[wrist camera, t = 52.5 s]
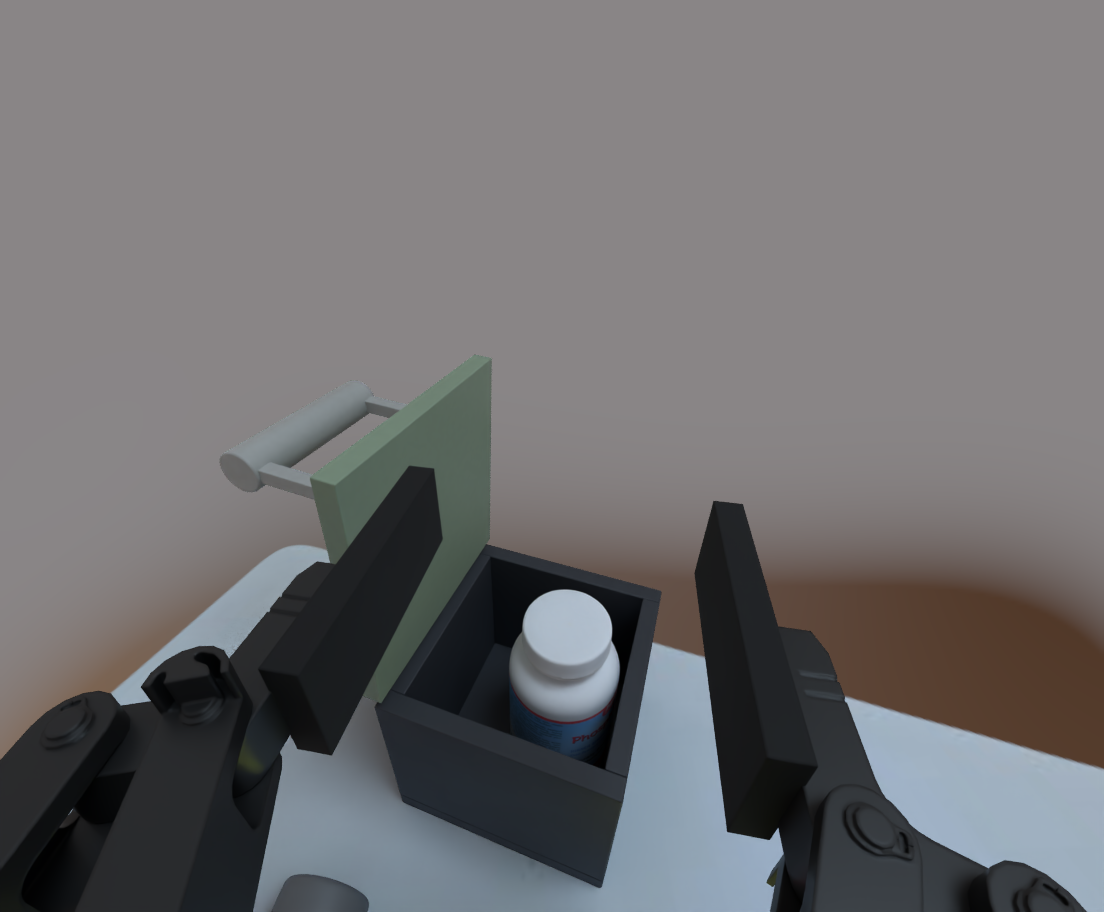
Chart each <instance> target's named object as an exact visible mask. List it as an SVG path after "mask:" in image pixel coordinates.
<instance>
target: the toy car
mask: <svg viewBox="0 0 1104 912" xmlns="http://www.w3.org/2000/svg"><path fill="white" fill-rule="evenodd" d="M368 907H369V902H368V899H367V898H366V897H365V896H364V895H363V894H362V893H361V892H359V891H358V890H356V889H355V888H353V887H351V886H349V885H346V884H344V883H342V882H339V881H336V880H333V879H329V878H326V877H321V876H316V875H308V874H299V875H294V876H291V877H289V878H288V879H287V880H286V882H285V883H284V885H283V887H282V889H281V892H280V894H279V896H278V898H277V900H276V902H275V904H274V907H273V909H272V911H271V912H367V911H368Z"/></svg>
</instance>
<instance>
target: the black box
mask: <svg viewBox="0 0 1104 912" xmlns="http://www.w3.org/2000/svg"><path fill="white" fill-rule="evenodd" d="M555 590H575V591H579V592H583V593H585V594H587V595H589V596H591V597H593V598H594V599H596V600H597V601H598V602H599V603H600V604H601V605H602V606H603V607H604V608H605V610H606V611H607V613H608V615H609V617H610V620H611V624H612V638H611V641H612V643H613V645H614V647H615V649H616V652H617V654H618V659H619V665H620V674H619V683H618V689H617V694H616V700H615V706H614V711H613V717H612V722H611V728H610V733H609V739H608V744H607V749H606V753H605V757H604V759H603V762H602V764H601V766H600V767H599V768H598V767H596V766H593V765H590V764H588V763H585V762H582V761H579V760H577V759H574V758H571V757H569V756H566V755H563V754H561V753H558V752H555V751H553V750H550V749H547V748H545V747H542V746H539V745H536V744H534V743H531V742H528V741H526V740H523V739H520V738H518V737H515V736H512V735H510V695H509V661H510V655H511V651H512V648H513V646H514V643H515V641H516V639H517V638H518V636H519V635H520V634H521V633H522V626H523V619H524V616H525V613H526V611H527V609H528V607H529V606H530V605H531V604H532V603H533V601H534V600H536V599H537V598H538V597H540V596H542V595H543V594H546V593H548V592H551V591H555ZM660 598H661V591H659V590H655V589H651V588H648V587H644V586H640V585H637V584H633V583H629V582H625V581H622V580H618V579H614V578H611V577H607V576H603V575H599V574H596V573H592V572H588V571H584V570H581V569H577V568H573V567H570V566H566V565H562V564H558V563H554V562H551V561H547V560H543V559H540V558H536V557H532V556H528V555H525V554H521V553H517V552H513V551H510V550H506V549H502V548H498V547H495V546H491V545H487V544H486V545H485V546H484V548H483V549H482V551H481V553H480V554H479V556H478V557H477V559H476V560H475V562H474V563H473V565H472V566H471V568H470V569H469V571H468V572H467V574H466V575H465V577H464V578H463V580H462V581H461V583H460V584H459V586H458V587H457V589H456V590H455V592H454V593H453V595H452V596H451V598H450V599H449V601H448V603H447V604H446V606H445V607H444V609H443V610H442V612H441V613H440V615H439V616H438V618H437V619H436V621H435V622H434V624H433V625H432V627H431V628H430V630H429V631H428V633H427V634H426V636H425V637H424V639H423V640H422V642H421V643H420V645H419V646H418V648H417V650H416V651H415V653H414V654H413V656H412V657H411V659H410V660H409V662H408V663H407V665H406V666H405V668H404V669H403V671H402V672H401V674H400V675H399V677H398V678H397V680H396V681H395V683H394V684H393V686H392V687H391V689H390V690H389V692H388V693H387V695H386V696H385V698H384V700H383V701H382V703H379V702H377V704H376V705H375V710H376V713H377V717H378V720H379V723H380V727H381V730H382V733H383V737H384V740H385V743H386V747H387V750H388V753H389V757H390V760H391V764H392V767H393V770H394V774H395V777H396V780H397V784H398V787H399V790H400V794H401V797H402V800H403V802H405V803H407V804H409V805H411V806H414V807H416V808H418V809H421V810H423V811H425V812H427V813H430V814H432V815H434V816H437V817H439V818H441V819H444V820H446V821H448V822H450V823H453V824H455V825H457V826H460V827H462V828H464V829H466V830H469V831H471V832H473V833H476V834H478V835H480V836H482V837H485V838H487V839H489V840H492V841H494V842H496V843H499V844H501V845H503V846H505V847H508V848H510V849H512V850H515V851H517V852H519V853H521V854H524V855H526V856H528V857H531V858H533V859H535V860H537V861H540V862H542V863H544V864H547V865H549V866H551V867H553V868H556V869H558V870H560V871H563V872H565V873H567V874H570V875H572V876H574V877H576V878H579V879H581V880H583V881H586V882H588V883H590V884H592V885H595V886H597V887H599V888H601V887H602V884H603V880H604V876H605V872H606V868H607V864H608V860H609V856H610V852H611V848H612V844H613V840H614V836H615V832H616V828H617V824H618V820H619V816H620V812H621V808H622V804H623V799H624V793H625V788H626V783H627V777H628V772H629V766H630V761H631V755H632V750H633V745H634V739H635V734H636V728H637V723H638V718H639V712H640V707H641V701H642V696H643V690H644V685H645V680H646V674H647V669H648V663H649V658H650V652H651V647H652V642H653V636H654V631H655V625H656V619H657V614H658V609H659V603H660Z"/></svg>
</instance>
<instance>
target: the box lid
mask: <svg viewBox="0 0 1104 912" xmlns="http://www.w3.org/2000/svg"><path fill="white" fill-rule="evenodd" d="M491 360H492V359H491V358H488V357H483V356H479V355H474V356H472V357H471V358H469V359H468V360H467V361H465V362H464V363H463V364H461V365H460V366H459V367H457V368H456V369H455V370H453V371H452V372H451V373H449V374H448V375H447V376H445V377H444V378H443V379H441V380H440V381H439V382H437V383H436V384H435V385H433V386H432V387H430V388H429V389H428V390H426V391H425V392H424V393H422V394H421V395H420V396H418V397H417V398H416V399H414V400H413V401H412V402H410V403H409V404H408V405H407V404H403V403H399V402H394V401H390V400H386V399H382V398H378V397H374V395H373V393H372V391H371V390H370V389H369V387H368V386H366V385H365V384H364V383H362V382H360V381H356V380H352V381H349V382H347V383H345V384H343V385H342V386H340V387H338V388H336V389H335V390H333V391H331V392H329V393H328V394H326V395H324V396H323V397H321V398H319V399H317V400H315V401H314V402H312V403H310V404H308V405H307V406H305V407H303V408H301V409H300V410H298V411H296V412H295V413H293V414H291V415H289V416H287V417H286V418H284V419H282V420H280V421H279V422H277V423H275V424H273V425H272V426H270V427H268V428H266V429H265V430H263V431H262V432H259V433H258V434H256V435H254V436H252V437H251V438H249V439H247V440H245V441H244V442H242V443H240V444H239V445H237V446H235V447H233V448H232V449H230V450H228V451H226V452H225V453H223V454H222V456H221V457H220V466H221V469H222V471H223V473H224V474H225V476H226V477H227V478H228V480H229V481H230V482H231V483H232V484H234V485H235V486H236V487H238V488H240V489H241V490H243V491H247V492H255V491H258V490H259V489H260V488H262V487H263V486H265V485H269V486H272V487H275V488H278V489H282V490H285V491H288V492H291V493H295V494H298V495H301V496H304V497H307V498H310V499H314V500H315V503H316V507H317V511H318V515H319V519H320V523H321V527H322V531H323V535H324V539H325V543H326V547H327V551H328V555H329V559H330V563H331V564H336V563H337V562H338V560H339V559H340V558H341V556H342V555H343V554H344V552H345V551H346V550H347V548H348V547H349V546H350V544H351V543H352V542H353V540H354V539H355V538H356V536H357V535H358V534H359V532H360V531H361V529H362V528H363V527H364V525H365V524H366V523H367V521H368V520H369V519H370V517H371V516H372V515H373V513H374V512H375V511H376V509H377V508H378V507H379V505H380V504H381V503H382V501H383V500H384V499H385V497H386V496H387V495H388V493H389V492H390V491H391V489H392V488H393V486H394V485H395V484H396V482H397V481H398V480H399V478H400V477H401V476H402V474H403V473H404V472H405V470H406V469H407V468H408V466H418V467H426V468H434V471H435V479H436V487H437V495H438V503H439V511H440V520H441V528H442V536H443V540H442V542H441V544H440V546H439V548H438V550H437V552H436V554H435V556H434V558H433V560H432V562H431V564H430V566H429V567H428V569H427V571H426V573H425V575H424V577H423V579H422V581H421V583H420V585H419V587H418V589H417V591H416V593H415V595H414V597H413V599H412V601H411V602H410V604H409V606H408V608H407V610H406V612H405V614H404V616H403V618H402V620H401V622H400V624H399V626H398V628H397V630H396V632H395V634H394V636H393V637H392V639H391V641H390V643H389V645H388V647H387V649H386V651H385V653H384V655H383V657H382V659H381V661H380V663H379V665H378V667H377V669H376V671H375V673H374V674H373V676H372V678H371V680H370V682H369V684H368V686H367V688H366V690H365V692H364V694H363V696H364V697H367V698H369V699H372V700H374V701H377V702H379V703H382V701H383V700H384V698H385V696H386V695H387V693H388V692H389V690H390V689H391V687H392V686H393V684H394V683H395V681H396V680H397V678H398V677H399V675H400V674H401V672H402V671H403V669H404V668H405V666H406V665H407V663H408V662H409V660H410V659H411V657H412V656H413V654H414V653H415V651H416V650H417V648H418V646H419V645H420V643H421V642H422V640H423V639H424V637H425V636H426V634H427V633H428V631H429V630H430V628H431V627H432V625H433V624H434V622H435V621H436V619H437V618H438V616H439V615H440V613H441V612H442V610H443V609H444V607H445V606H446V604H447V603H448V601H449V599H450V598H451V596H452V595H453V593H454V592H455V590H456V589H457V587H458V586H459V584H460V583H461V581H462V580H463V578H464V577H465V575H466V574H467V572H468V571H469V569H470V568H471V566H472V565H473V563H474V562H475V560H476V559H477V557H478V556H479V554H480V553H481V551H482V549H483V548H484V546H485V545H486V543H487V542H488V540H489V539H490V456H491V455H490V454H491V452H490V451H491V449H490V448H491V366H492V365H491V364H492V361H491ZM369 413H372V414H376V415H380V416H384V417H387V418H389V419H387V420H386V421H385V422H383V423H382V424H381V425H379V426H378V427H377V428H375V429H374V430H373V431H371V432H370V433H369V434H367V435H366V436H364V437H363V438H362V439H360V440H359V441H358V442H356V443H355V444H354V445H352V446H351V447H350V448H348V449H347V450H346V451H344V452H343V453H342V454H340V455H339V456H338V457H336V458H335V459H334V460H332V461H331V462H329V463H328V464H327V465H325V466H324V467H323V468H321V469H320V470H319V471H317V472H316V473H315V474H313V475H312V474H308V473H305V472H302V471H298V470H295V469H292V468H291V467H292V466H294V465H295V464H297V463H298V462H299V461H301V460H302V459H304V458H305V457H307V456H308V455H310V454H311V453H312V452H314V451H315V450H317V449H318V448H320V447H321V446H323V445H324V444H326V443H327V442H328V441H330V440H331V439H333V438H334V437H336V436H337V435H339V434H340V433H342V432H343V431H344V430H346V429H347V428H349V427H350V426H351V425H353V424H355V423H356V422H357V421H359V420H360V419H362V418H363V417H365V416H366V415H368V414H369Z"/></svg>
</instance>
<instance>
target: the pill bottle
mask: <svg viewBox="0 0 1104 912" xmlns="http://www.w3.org/2000/svg"><path fill="white" fill-rule="evenodd" d="M611 638H612V624H611V620H610V617H609V615H608V613H607V611H606V610H605V608H604V607H603V606H602V605H601V604H600V603H599V602H598V601H597V600H596V599H594V598H593V597H591V596H589V595H587V594H585V593H583V592H579V591H575V590H555V591H551V592H548V593H546V594H543V595H542V596H540V597H538V598H537V599H536V600H534V601H533V603H532V604H531V605H530V606H529V607H528V609H527V611H526V613H525V616H524V619H523V626H522V633H521V634H520V635H519V636H518V638H517V639H516V641H515V643H514V646H513V648H512V651H511V655H510V661H509V695H510V735H512V736H515V737H518V738H520V739H523V740H526V741H528V742H531V743H534V744H536V745H539V746H542V747H545V748H547V749H550V750H553V751H555V752H558V753H561V754H563V755H566V756H569V757H571V758H574V759H577V760H579V761H582V762H585V763H588V764H590V765H593V766H596V767H598V768H599V767H600V766H601V764H602V762H603V759H604V757H605V753H606V749H607V744H608V739H609V733H610V728H611V722H612V717H613V711H614V706H615V700H616V694H617V689H618V683H619V674H620V665H619V659H618V654H617V652H616V649H615V647H614V645H613V643H612V641H611Z"/></svg>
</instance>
